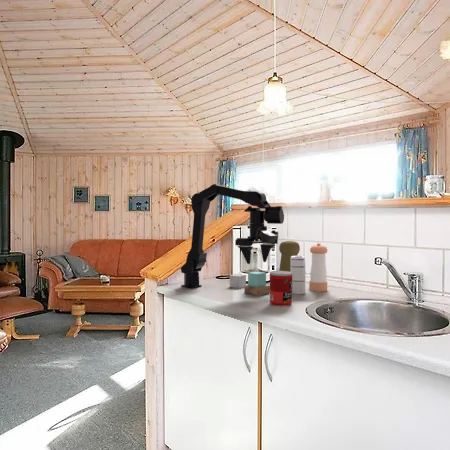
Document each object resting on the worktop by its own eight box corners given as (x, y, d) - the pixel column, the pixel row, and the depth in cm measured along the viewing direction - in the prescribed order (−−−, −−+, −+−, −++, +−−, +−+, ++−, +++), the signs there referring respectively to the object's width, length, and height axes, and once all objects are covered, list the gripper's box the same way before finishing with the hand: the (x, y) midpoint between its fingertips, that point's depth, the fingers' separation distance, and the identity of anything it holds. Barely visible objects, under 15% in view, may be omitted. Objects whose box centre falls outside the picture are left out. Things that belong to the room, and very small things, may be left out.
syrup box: (305, 294, 158) (305, 257, 157) (290, 293, 159) (290, 256, 158) (305, 291, 163) (305, 255, 163) (290, 290, 165) (290, 255, 164)
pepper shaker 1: (303, 286, 174) (303, 242, 174) (278, 286, 174) (279, 242, 174) (299, 282, 185) (299, 240, 184) (275, 282, 185) (276, 240, 184)
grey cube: (229, 287, 173) (229, 275, 173) (235, 285, 177) (235, 274, 177) (239, 288, 170) (239, 276, 170) (245, 286, 174) (245, 275, 174)
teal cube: (248, 285, 160) (248, 272, 160) (256, 283, 163) (256, 271, 163) (257, 287, 156) (257, 274, 156) (266, 285, 160) (266, 273, 159)
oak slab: (244, 292, 160) (244, 285, 160) (256, 290, 165) (256, 283, 165) (257, 295, 155) (257, 287, 155) (269, 293, 160) (269, 285, 159)
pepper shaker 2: (325, 288, 170) (326, 242, 170) (328, 291, 163) (329, 244, 162) (308, 287, 171) (308, 242, 170) (310, 291, 164) (310, 244, 163)
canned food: (287, 307, 136) (287, 274, 136) (265, 304, 141) (265, 272, 140) (295, 302, 143) (296, 271, 143) (275, 300, 147) (275, 270, 147)
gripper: (255, 224, 147) (255, 267, 148) (288, 223, 160) (287, 263, 160) (234, 223, 155) (234, 264, 156) (267, 222, 168) (266, 260, 168)
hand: (256, 262), depth 160 cm, fingers open, 9 cm apart
